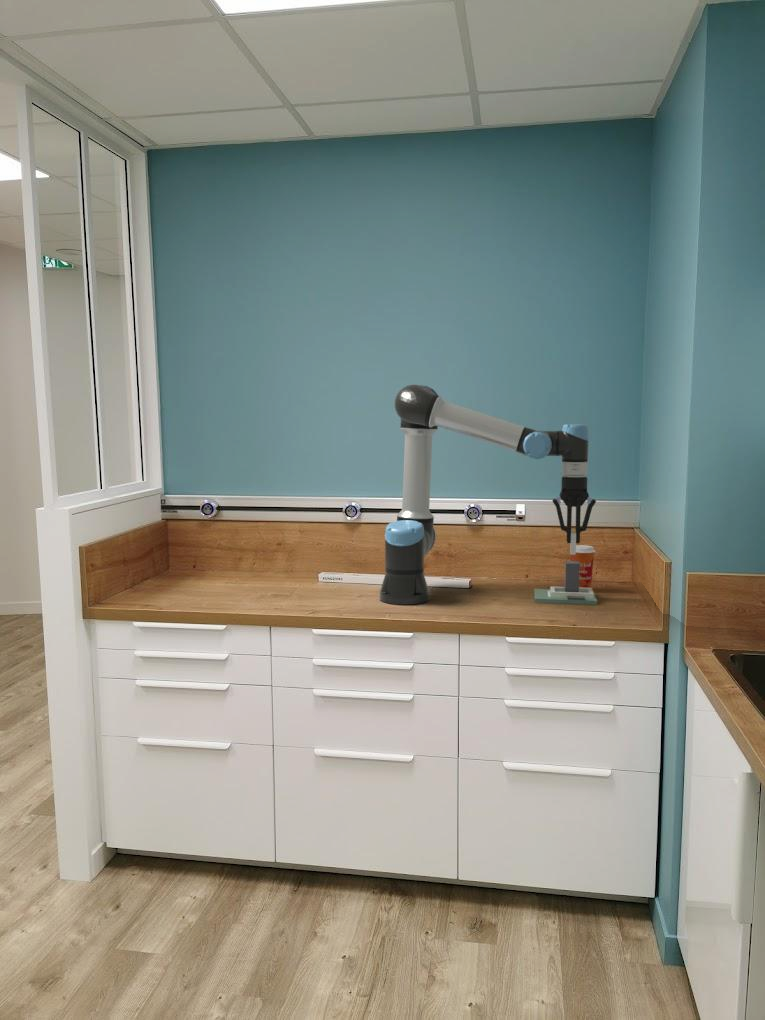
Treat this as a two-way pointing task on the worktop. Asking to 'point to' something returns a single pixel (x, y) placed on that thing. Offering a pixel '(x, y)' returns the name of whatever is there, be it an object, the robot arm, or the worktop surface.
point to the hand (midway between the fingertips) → (572, 553)
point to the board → (565, 596)
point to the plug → (572, 576)
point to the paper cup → (584, 564)
